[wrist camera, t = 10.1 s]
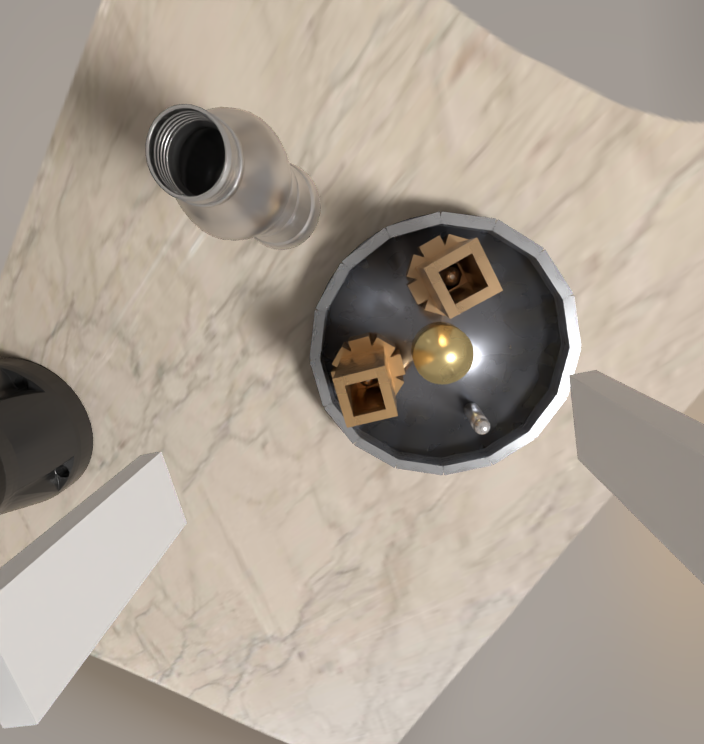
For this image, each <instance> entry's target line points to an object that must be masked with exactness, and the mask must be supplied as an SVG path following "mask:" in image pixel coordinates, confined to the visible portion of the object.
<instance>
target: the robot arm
mask: <svg viewBox="0 0 704 744" xmlns="http://www.w3.org/2000/svg"><path fill="white" fill-rule="evenodd" d="M569 379H570V388H571V398H572V408H573V417H574V427H575V437H576V447H577V456H578V460H579V461H580V462H581V463H582V464H583V465H584V466H585V467H586V468H587V469H588V470H589V471H590V472H591V473H592V474H593V475H594V476H595V477H596V478H597V479H598V480H599V481H600V482H601V483H602V484H603V485H604V486H606V487H607V488H608V489H609V490H610V491H611V492H612V493H613V494H614V495H615V496H616V497H617V498H618V499H619V500H620V501H621V502H622V503H623V504H624V505H625V506H626V507H627V508H628V509H629V510H630V511H631V512H632V513H633V514H634V515H635V516H636V517H637V518H638V519H639V520H640V521H641V522H642V523H643V524H644V525H645V526H646V527H647V528H648V529H649V530H650V531H651V532H652V533H653V534H654V535H655V536H656V537H657V538H658V539H659V540H660V541H661V542H662V543H663V544H664V545H665V546H666V547H667V548H668V549H669V550H670V551H671V552H672V553H673V554H674V555H675V556H676V557H677V558H678V559H679V560H680V561H681V562H682V563H683V564H684V565H685V566H686V567H687V568H688V569H689V570H690V571H691V572H692V573H693V574H694V575H695V576H696V577H697V578H698V579H699V580H700V581H701V582H702V583H703V584H704V424H702V423H701V422H699V421H697V420H695V419H693V418H691V417H689V416H687V415H685V414H683V413H681V412H679V411H677V410H675V409H673V408H671V407H669V406H667V405H665V404H663V403H661V402H659V401H657V400H655V399H653V398H651V397H649V396H647V395H645V394H643V393H641V392H639V391H637V390H635V389H633V388H631V387H629V386H627V385H625V384H623V383H621V382H619V381H617V380H615V379H613V378H611V377H609V376H607V375H605V374H603V373H601V372H599V371H597V370H594V371H589V372H583V373H578V374H573V375H569ZM92 450H93V433H92V428H91V423H90V420H89V417H88V415H87V412H86V410H85V408H84V406H83V404H82V403H81V401H80V400H79V398H78V397H77V395H76V394H75V393H74V392H73V390H72V389H71V388H70V387H69V386H68V385H67V384H66V383H65V382H64V381H63V380H62V379H60V378H59V377H58V376H57V375H55V374H54V373H52V372H51V371H49V370H47V369H46V368H44V367H42V366H40V365H37V364H35V363H32V362H29V361H26V360H22V359H16V358H0V515H1V514H4V513H7V512H11V511H14V510H17V509H21V508H24V507H27V506H31V505H34V504H37V503H41V502H43V501H46V500H48V499H50V498H52V497H54V496H56V495H58V494H59V493H61V492H62V491H63V490H65V489H66V488H68V487H69V486H70V485H72V484H73V483H74V482H76V481H77V480H78V479H79V478H80V477H81V475H82V474H83V473H84V471H85V470H86V468H87V466H88V464H89V462H90V459H91V455H92ZM186 524H187V522H186V519H185V516H184V513H183V511H182V508H181V505H180V502H179V499H178V496H177V494H176V491H175V488H174V485H173V482H172V480H171V477H170V474H169V471H168V468H167V465H166V463H165V460H164V457H163V454H162V451H161V452H155V453H150V454H145V455H140V456H139V457H138V458H136V459H135V460H134V461H133V462H131V463H130V464H129V465H128V466H127V467H125V468H124V469H123V470H122V471H120V472H119V473H118V474H117V475H115V476H114V477H113V478H112V479H110V480H109V481H108V482H107V483H105V484H104V485H103V486H102V487H100V488H99V489H98V490H97V491H95V492H94V493H93V494H92V495H90V496H89V497H88V498H87V499H85V500H84V501H83V502H82V503H80V504H79V505H78V506H77V507H76V508H74V509H73V510H72V511H71V512H69V513H68V514H67V515H66V516H64V517H63V518H62V519H61V520H59V521H58V522H57V523H56V524H54V525H53V526H52V527H51V528H49V529H48V530H47V531H46V532H44V533H43V534H42V535H41V536H39V537H38V538H37V539H36V540H34V541H33V542H32V543H31V544H30V545H28V546H27V547H26V548H25V549H23V550H22V551H21V552H20V553H18V554H17V555H16V556H15V557H13V558H12V559H11V560H10V561H8V562H7V563H6V564H5V565H3V566H2V567H1V568H0V724H1V725H2V727H3V728H11V727H21V726H30V725H37V724H38V723H39V722H40V720H41V719H42V718H43V716H44V715H45V714H46V712H47V711H48V710H49V708H50V707H51V705H52V704H53V703H54V701H55V700H56V699H57V697H58V696H59V695H60V693H61V692H62V691H63V689H64V688H65V686H66V685H67V684H68V683H69V681H70V680H71V679H72V677H73V676H74V674H75V673H76V672H77V670H78V669H79V668H80V666H81V665H82V663H83V662H84V661H85V660H86V658H87V657H88V656H89V654H90V653H91V652H92V650H93V649H94V648H95V646H96V645H97V644H98V642H99V641H100V640H101V638H102V637H103V635H104V634H105V633H106V631H107V630H108V629H109V627H110V626H111V625H112V623H113V622H114V621H115V619H116V618H117V617H118V615H119V614H120V613H121V611H122V610H123V609H124V607H125V606H126V604H127V603H128V602H129V600H130V599H131V598H132V596H133V595H134V594H135V592H136V591H137V590H138V588H139V587H140V586H141V584H142V583H143V582H144V580H145V579H146V578H147V576H148V575H149V574H150V572H151V571H152V569H153V568H154V567H155V565H156V564H157V563H158V561H159V560H160V559H161V557H162V556H163V555H164V553H165V552H166V551H167V549H168V548H169V547H170V545H171V544H172V543H173V541H174V540H175V538H176V537H177V536H178V534H179V533H180V532H181V530H182V529H183V528H184V526H185V525H186Z"/></svg>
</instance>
